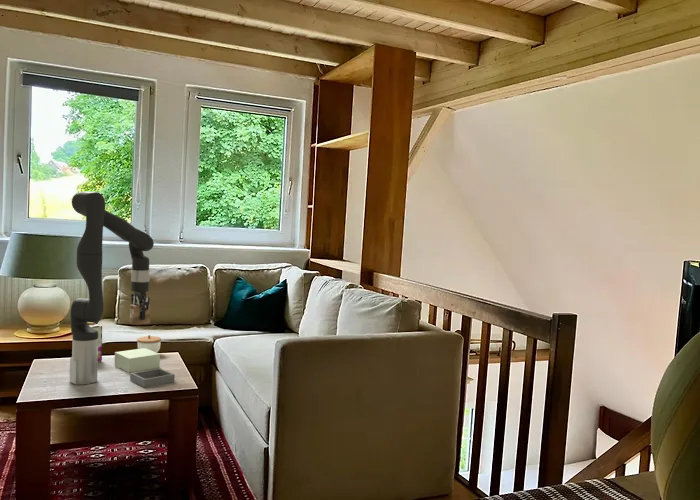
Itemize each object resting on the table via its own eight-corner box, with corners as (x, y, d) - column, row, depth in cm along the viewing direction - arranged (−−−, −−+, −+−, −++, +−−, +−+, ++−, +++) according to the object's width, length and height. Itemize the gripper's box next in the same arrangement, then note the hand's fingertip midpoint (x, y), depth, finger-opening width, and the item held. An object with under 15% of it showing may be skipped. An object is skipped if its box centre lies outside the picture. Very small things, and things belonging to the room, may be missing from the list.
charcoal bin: (143, 387, 222) (144, 379, 221) (130, 380, 230) (130, 373, 230) (174, 381, 231) (174, 374, 231) (160, 375, 239) (160, 368, 239)
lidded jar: (138, 358, 265) (138, 338, 265) (135, 352, 275) (136, 333, 274) (161, 356, 270) (162, 337, 269) (159, 351, 280) (159, 332, 279)
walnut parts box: (149, 323, 250) (150, 305, 249) (133, 324, 244) (134, 306, 244) (144, 321, 253) (144, 303, 253) (128, 322, 248) (129, 304, 247)
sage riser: (128, 372, 241) (129, 358, 240) (114, 365, 250) (114, 352, 250) (159, 367, 251) (159, 354, 250) (144, 360, 260) (145, 348, 260)
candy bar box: (96, 359, 260) (97, 323, 259) (102, 361, 257) (103, 325, 256) (72, 363, 251) (72, 326, 250) (77, 365, 248) (78, 328, 247)
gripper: (156, 281, 245) (155, 320, 246) (141, 278, 255) (140, 315, 256) (139, 282, 240) (138, 322, 241) (124, 278, 250) (123, 317, 251)
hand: (139, 318), depth 249 cm, fingers closed on walnut parts box, 5 cm apart
